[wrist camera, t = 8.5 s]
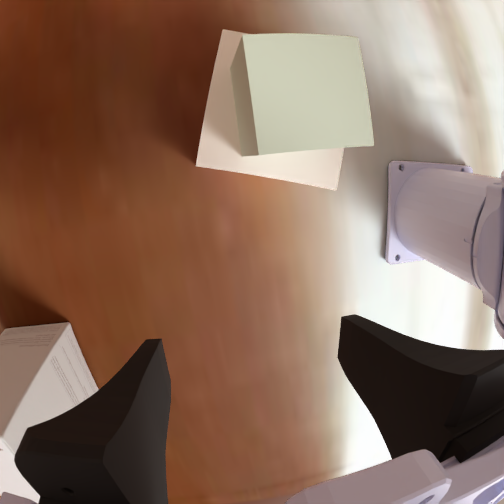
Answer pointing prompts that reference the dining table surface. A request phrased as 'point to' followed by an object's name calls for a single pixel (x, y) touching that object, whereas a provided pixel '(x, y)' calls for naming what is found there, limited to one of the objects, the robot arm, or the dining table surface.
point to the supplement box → (36, 389)
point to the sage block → (300, 93)
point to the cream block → (228, 143)
